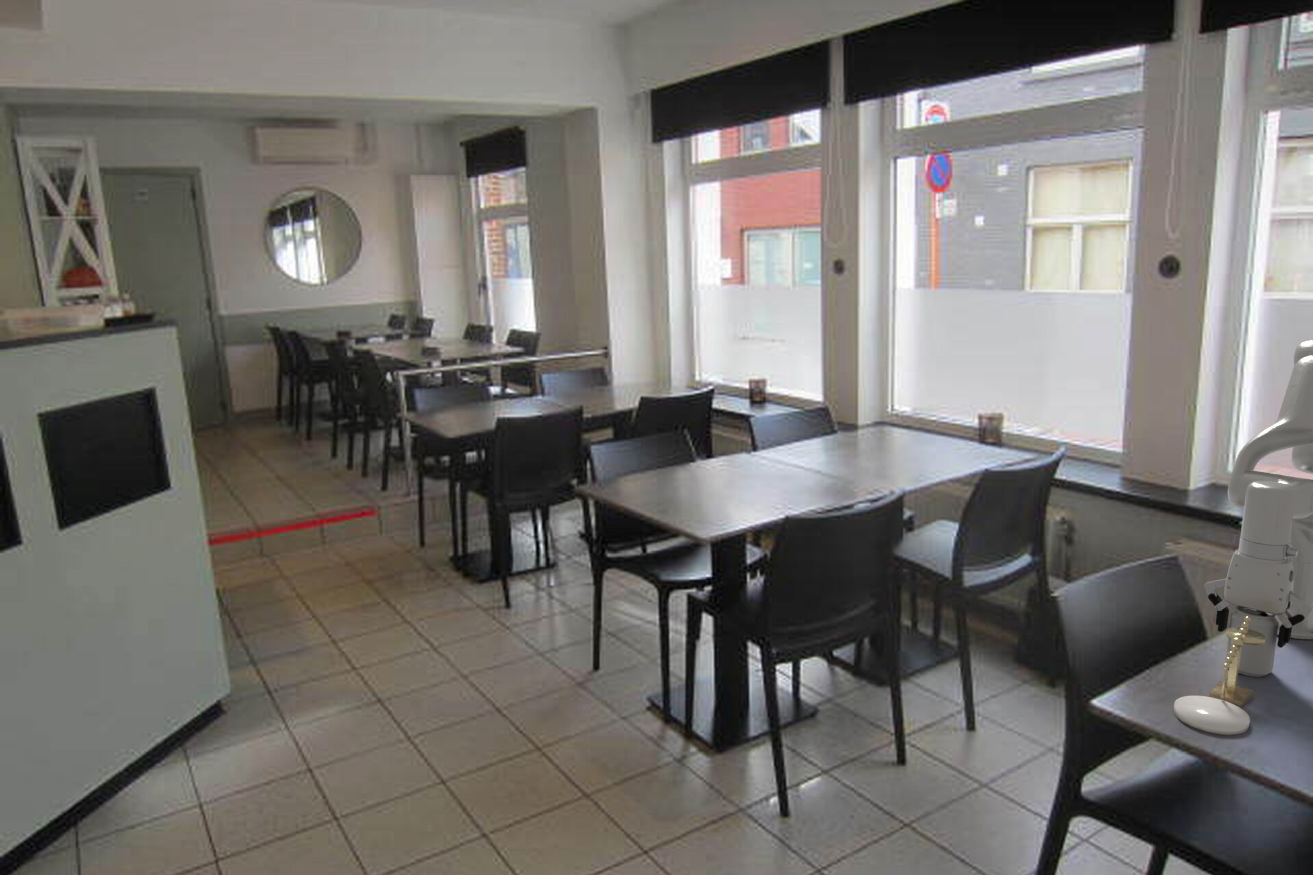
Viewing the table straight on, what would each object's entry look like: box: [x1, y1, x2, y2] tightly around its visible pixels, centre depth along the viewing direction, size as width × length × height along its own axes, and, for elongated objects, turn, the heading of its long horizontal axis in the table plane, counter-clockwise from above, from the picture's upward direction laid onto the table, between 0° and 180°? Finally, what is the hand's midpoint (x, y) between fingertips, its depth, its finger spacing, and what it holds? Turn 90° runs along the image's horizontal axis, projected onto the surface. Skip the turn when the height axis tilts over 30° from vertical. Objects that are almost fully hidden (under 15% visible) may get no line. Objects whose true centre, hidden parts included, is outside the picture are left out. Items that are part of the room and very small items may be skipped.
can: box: [1225, 606, 1279, 678], centre depth 172 cm, size 8×8×12 cm
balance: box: [1208, 617, 1266, 708], centre depth 162 cm, size 14×6×14 cm, turn 133°
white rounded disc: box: [1173, 695, 1251, 736], centre depth 156 cm, size 11×11×1 cm
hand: (1251, 637), depth 171 cm, fingers open, 9 cm apart
